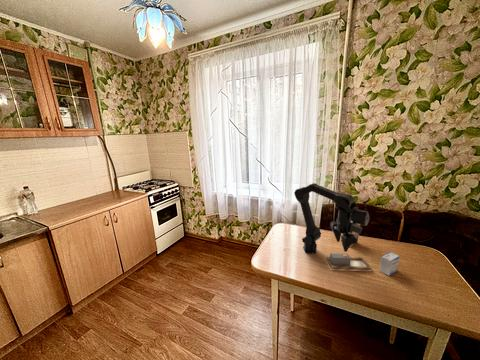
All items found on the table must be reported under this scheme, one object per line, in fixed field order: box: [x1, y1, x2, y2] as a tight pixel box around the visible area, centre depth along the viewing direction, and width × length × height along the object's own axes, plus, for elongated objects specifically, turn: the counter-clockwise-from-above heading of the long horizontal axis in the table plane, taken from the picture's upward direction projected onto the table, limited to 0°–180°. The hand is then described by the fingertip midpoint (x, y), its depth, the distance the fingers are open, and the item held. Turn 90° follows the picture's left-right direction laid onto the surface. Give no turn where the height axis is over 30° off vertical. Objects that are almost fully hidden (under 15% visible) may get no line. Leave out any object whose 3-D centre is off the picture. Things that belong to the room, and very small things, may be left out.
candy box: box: [348, 223, 361, 248], centre depth 124 cm, size 9×4×15 cm, turn 123°
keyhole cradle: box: [324, 256, 373, 272], centre depth 106 cm, size 20×9×2 cm, turn 85°
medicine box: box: [379, 252, 401, 277], centre depth 100 cm, size 8×4×9 cm, turn 117°
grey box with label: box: [329, 252, 351, 265], centre depth 106 cm, size 9×4×5 cm, turn 85°
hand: (341, 246), depth 104 cm, fingers open, 9 cm apart
